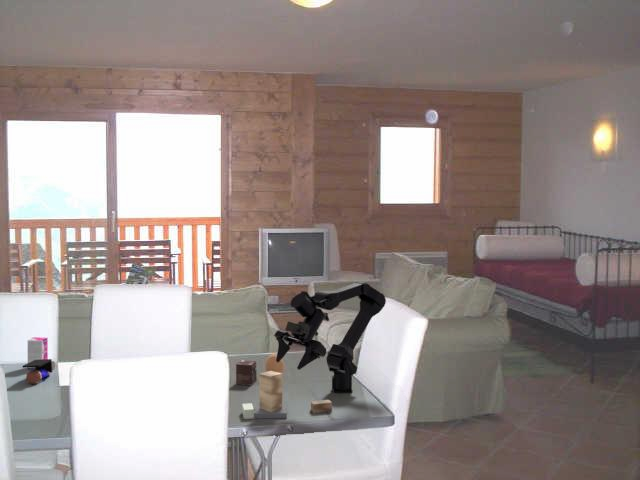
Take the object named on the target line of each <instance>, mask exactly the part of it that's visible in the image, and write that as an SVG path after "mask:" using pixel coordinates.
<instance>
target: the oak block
mask: <svg viewBox="0 0 640 480" xmlns="http://www.w3.org/2000/svg"><path fill="white" fill-rule="evenodd" d="M258 376H259V387H258V388H259V391H258V394H259V403H260V409H263V410H267V411H270V412H271V411H275V410H278V409H281V408H282V403H283V373H279V372H275V371H268V372H266V371H264V372H261V373H259V375H258Z"/></svg>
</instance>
